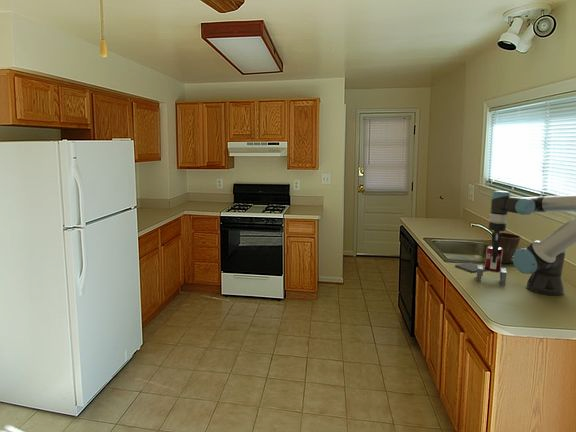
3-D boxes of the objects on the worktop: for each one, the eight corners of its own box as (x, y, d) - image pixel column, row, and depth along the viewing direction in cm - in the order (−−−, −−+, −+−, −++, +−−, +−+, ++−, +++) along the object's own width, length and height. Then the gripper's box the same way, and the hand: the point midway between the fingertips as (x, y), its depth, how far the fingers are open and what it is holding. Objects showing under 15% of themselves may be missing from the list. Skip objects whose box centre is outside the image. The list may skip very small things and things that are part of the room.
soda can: (485, 267, 213) (488, 245, 211) (501, 270, 208) (504, 247, 206) (483, 270, 207) (485, 247, 205) (499, 273, 203) (501, 250, 201)
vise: (505, 285, 203) (506, 272, 201) (476, 281, 208) (477, 268, 207) (504, 280, 210) (505, 268, 209) (476, 276, 215) (478, 264, 214)
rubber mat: (487, 270, 226) (488, 268, 226) (472, 272, 221) (472, 271, 221) (470, 264, 237) (470, 262, 237) (454, 266, 232) (455, 264, 232)
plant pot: (508, 257, 253) (511, 232, 250) (522, 265, 239) (526, 238, 236) (484, 257, 253) (487, 232, 250) (497, 264, 238) (500, 237, 235)
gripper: (489, 218, 214) (484, 260, 218) (489, 224, 196) (484, 270, 200) (505, 219, 211) (500, 262, 215) (507, 226, 193) (501, 273, 197)
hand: (492, 266), depth 207 cm, fingers closed on soda can, 7 cm apart
